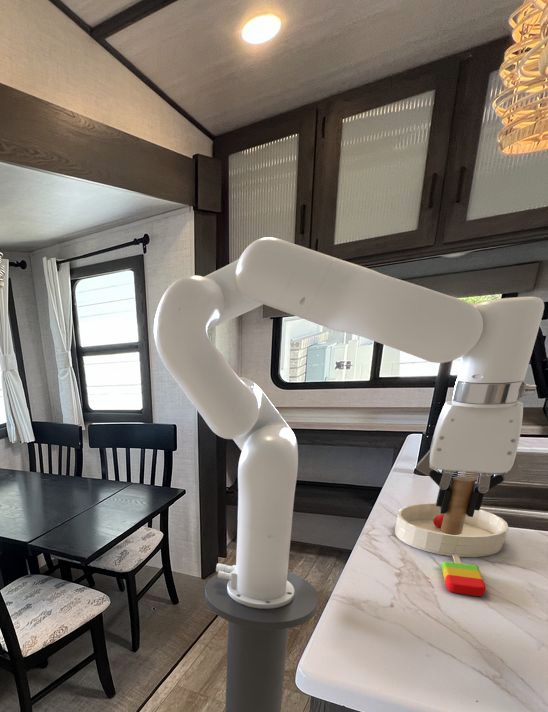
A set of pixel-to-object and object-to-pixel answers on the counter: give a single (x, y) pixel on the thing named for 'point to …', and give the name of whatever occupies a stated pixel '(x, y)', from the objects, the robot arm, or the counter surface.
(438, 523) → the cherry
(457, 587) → the popsicle
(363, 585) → the counter surface
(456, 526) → the brown cylinder
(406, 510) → the bowl
